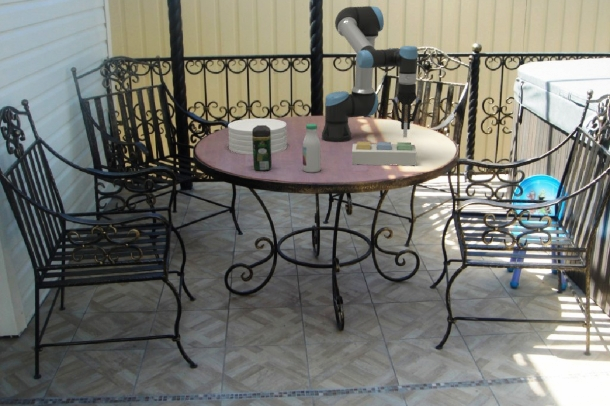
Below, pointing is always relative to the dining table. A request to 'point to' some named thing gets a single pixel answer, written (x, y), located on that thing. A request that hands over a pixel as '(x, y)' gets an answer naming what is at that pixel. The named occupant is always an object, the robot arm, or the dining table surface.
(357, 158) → the key panel
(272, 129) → the plate stack
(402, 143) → the key sage
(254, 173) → the dining table surface
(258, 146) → the coffee jar
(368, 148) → the key ochre
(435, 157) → the dining table surface
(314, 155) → the milk bottle
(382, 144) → the key blue
